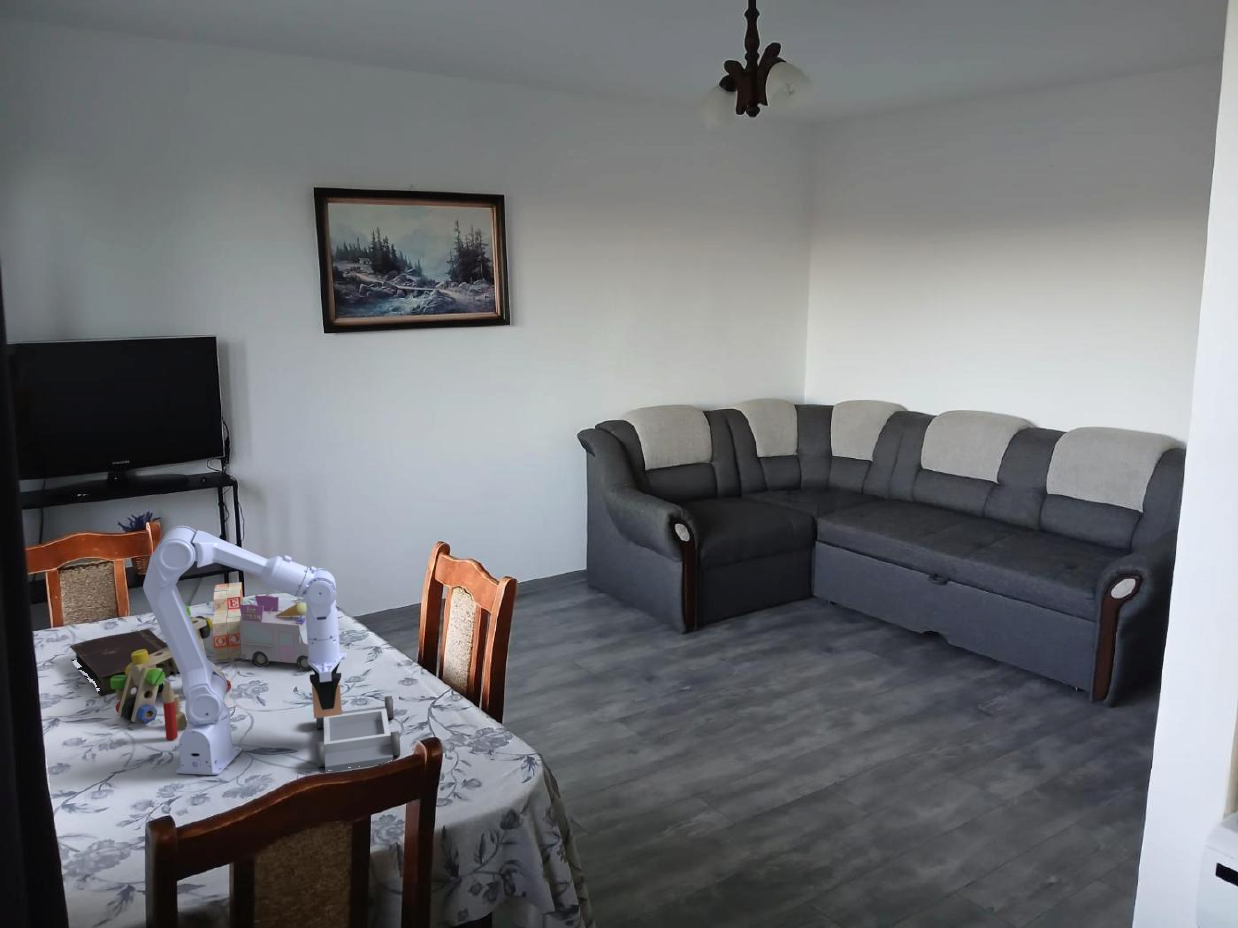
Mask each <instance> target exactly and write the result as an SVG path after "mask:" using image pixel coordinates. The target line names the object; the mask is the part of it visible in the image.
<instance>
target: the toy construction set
mask: <svg viewBox="0 0 1238 928" xmlns="http://www.w3.org/2000/svg"><path fill="white" fill-rule="evenodd" d="M184 605H185V608H186V610H187V612H188V615H189V617H190V619H191V622H192V624H193V626H194V629H195V631H196V633H197V636H198V638H199V641H200V643H201V645H202V648H203V650H204V652H205V655H206V656H207V653H206V649H205V646H204V639H207V638H208V637H210V636H211V631H213V620H212V619H211V618H210V617H207V616H206V617H204V616H203V615H197V616H195V617H194V616H191V615H192V613H191V609H190V606H189V605H188V604H184ZM131 657H132V661H133V662H132V663H130V664H129V665H128V666H127V667H126V669H125V674H126V676H127V678H126V676H125V675H117V676H113V677H112V678H111V679H110V682H111V688H112V689H116V693H115V694H116V699H117V701H118V702H116V705H115V707H114V708H115V712H116V713H117V714H116V717H118V718H123V720H124V721H127V722H128V723H131V724H137V723H145V724H146V723H147V724H148V723H151V722H153V721H155V720H156V718H157V715H158V709H157V708H156V707H155V703H156V700H157V698H158V697H159V696H160V695H162V706H163V716H164V731H165V738H166V740H167V741H175V740H177V738H178V737H179V735H178V731H181V730H183V729H184V730H185V729H186V726H187V715H186V713H184V712H183V711H181V704H180V695H179V694H178V693H175V691H174V690H173V688H172V685H171V680H168V679H167V678H165V674H164V672H162V669H161V668H156V664H157V663H160V662H161V663H163V664H164V665H166V667H167V669H168V670H170V671H173V672H177V673H178V672H179V670H178V667H177V665H176V663H175V661H174V658H173V656H172V654H171V651H170V649H169V647H166V648H164V649H162V650H159V651H157V652H155V653H153V654H150V655H148V652H147V650H146V649H142V650H137V651H135V652H133V653H132V654H131ZM211 663H212V664H213V665H214V668H215V670H216V671H217V672H218V673H219V674H220V675H222V676H223V677H224V678H225V680H226V682H227V692H226V694H227V693H229V692H230V690H231V689H232V684H231V681H230V680H229V679H227V678H226V675H225V673H224V672H222V671H221V670H220V669H219V667H218V666H216V665H215V664H214V663H213V662H211ZM179 673H180V672H179ZM124 687H125V688H124ZM134 687H136V688H134ZM133 689H135V692H134V693H133V694H132V693H131V692H132V690H133Z"/></svg>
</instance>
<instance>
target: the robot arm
mask: <svg viewBox="0 0 1238 928" xmlns="http://www.w3.org/2000/svg"><path fill="white" fill-rule="evenodd" d="M194 562H197V564H196V568H201V567H205V566H208V565H211V564H214V563H215V564H216V563H217V564H221V565H224V566H227V567H229V568H233V569H236V570H239V571H242V572H246V573H249V574H252V575H255V576H259V577H260V578H261V581H262V583H263V585H264V586H266V587H269V588H271V589H273V590H275V591H276V590H277V591H279V592H282V593H285V594H288V595H290V596H293V597H296V598H303V602H304V603H305V604H306V607H307V611H306V614H305V615H306V628H307V643H308V656H309V657H308V664H309V665H310V666H311V670H312V672H313V674H309V681H310V684H311V686H312V685H313V686H314V688H315V690H316V692H317V694H318V698H319V702H320V705H321V708H322V710H326V709H333V708H334V704H335V697H336V690H337V686H338V683H339V681H340V682H341V678H342V672H338V669H339V667H340V664H341V661H344V660H347V659H348V658H347V657H348V655H347V652H341V649H340V647H341V645H340V632H339V630H340V628H339V616H338V609H337V600H336V599H337V595H338V592H337V586H336V584H337V583H336V579H335V577H334V576H333V574H332V573H331V572H329V571H328V570H326V569H325V568H323V567H319V568H317V567H315V566H313V565H312V566H310V567H308V566H306V565H302V564H300V563H297V562H295V561H292V557H291V556H289V555H286V554H285V555H284V557H281V556H279V555H276V556H273V557H270V558H265V557H263V556H261V555H259V554H256V553H254V552H251V551H249V550H247V549H245V548H243V547H240V546H237V545H235V544H233V543H231V542H229V541H226V540H225V539H224V540H223V539H221V538H219V537H217V536H215V535H213V534H211V533H208V532H206V531H203V530H197V531H196V529H194V528H192V527H190V526H186V525H177V526H174V527H172V528H169V530H168V531H167V532H165V534H164V536H163V537H162V538H161V540H160V541H159V542H158V543H157V545H156V547H155V550H154V551H153V553H152V554H151V555H150V557H149V563H148V566H147V570H146V574H145V578H144V580H143V586H142V587H143V591H144V595H145V596H146V598H147V601H148V604H149V605H150V608H151V610H152V613H153V615H154V617H155V619H156V621H157V624H158V626H159V628H160V630H161V631H160V632H161V633H162V636H163V637H164V640H165V643H166V644H167V645H168V647H169V649H170V651H171V654H172V656H173V658H174V661H175V663H176V665H177V667H178V670H179V674H180V676H181V677H180V678H181V685H182V687H181V688H182V692H183V695H184V698H185V707H184V708H185V710H184V711H185V715H186V720H187V726H186V728H184V731H183V732H182V734H181V735H180V737H179V740H178V750H179V759H180V766H179V767H178V769H176V773H177V774H183V775H184V774H187V775H204V776H205V775H207V776H208V775H209V776H212V775H213V776H219V775H220V774H221V773H222V772H223V771H224V770H225V769H226V768H227V766H229V765H230V763H231V762H232V761H234V760H235V758H236V757H237V756H238V755H239V754H240V753H241V752H242V751H243V748H242V747H241V746H233V740H232V739H233V738H232V727H231V712H230V707H229V706H228V705H227V704H226V703H225V698H226V695H227V693H228V692H227V682H226V680H225V678H226V677H225V678H224V677H223V676H222V675H220V674H219V673H218V672H217V671H216V670H215V668H214V665H215V664H214V663H213V662H212V661H210V660H209V659H208V657H207V654H206V655H205V653H206V651H205V652H204V650H203V648H202V645H201V643H200V641H199V638H198V636H197V633H196V631H195V629H194V626H193V624H192V622H191V619H190V617H191V616H190V617H189V615H188V612H187V610H186V608H185V605H186V604H185V603H184V600H183V598H182V597H181V594H180V592H179V589H178V587H177V583H178V581H179V580H180V578H181V576H182V575H183V574H185V572H187V571H188V570H189V569H190V568H191V567H192V566H193V564H194ZM212 663H213V664H214V665H213V664H212ZM226 692H227V693H226Z"/></svg>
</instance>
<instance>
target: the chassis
mask: <svg viewBox="0 0 1238 928" xmlns="http://www.w3.org/2000/svg"><path fill="white" fill-rule="evenodd" d="M393 700H394V699H393V695H388V696H387V695H386V696H384V706H374V707H366V708H359V709H352V710H343V711H342V715H335V716H328V717H321V718H315V719H316V722H315V723H316V728H317V729H319V728H320V729H321V728H323V738H324V739H323V741H317V742H315V752H316V753H315V755H316V767H317V768H320V767H322V768H323V767H325V769H324V770H325V772H327V773H333V772H339V771H347V770H355V769H359V768H366V767H367V768H368V767H373V766H372V765H375V766H380V765H379V764H381V765H384V764H383V763H386V762H388V761H391V760H393V761H394V757H398V756H401V740H400V733H399V730H397V731H396V730H395V731H391V730H390V724H389V719H394V716H395V715H394V701H393ZM359 766H360V767H359ZM348 767H351V768H348ZM328 770H332V771H328Z"/></svg>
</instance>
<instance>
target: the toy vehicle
mask: <svg viewBox="0 0 1238 928" xmlns="http://www.w3.org/2000/svg"><path fill="white" fill-rule="evenodd" d="M254 597H255V602H256V604H250V603H249V604H244V603H243V604H240V612H241V620H239V626H240V639H241V652H242V654H240V657H239V658H240V659H243V660H244V659H245V660H246V659H247V660H248V659H250V661H251V664H252V665H253V664H255V665H256V666H258V667H265V666H267V665H268V664H269V663H270V662H282V663H289V664H290V663H292V664H297V665H298V668H299V669H300V670H302V671H306V672H307V671H310V670H312V668H311V666H310V665H309V664H308V657H309V656H308V643H307V628H306V615H305V614H306V611H307V607H306V603H305V602H304V601H302V602H300V601H299V602H296V604H294V605H291V606H290V607H288V608H286V609H285V610H282V611H279V609H280V607H279V605H280V602H279V600H280V599H279V598H280V597H279V596H272V595H258V594H256V595H254Z"/></svg>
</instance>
